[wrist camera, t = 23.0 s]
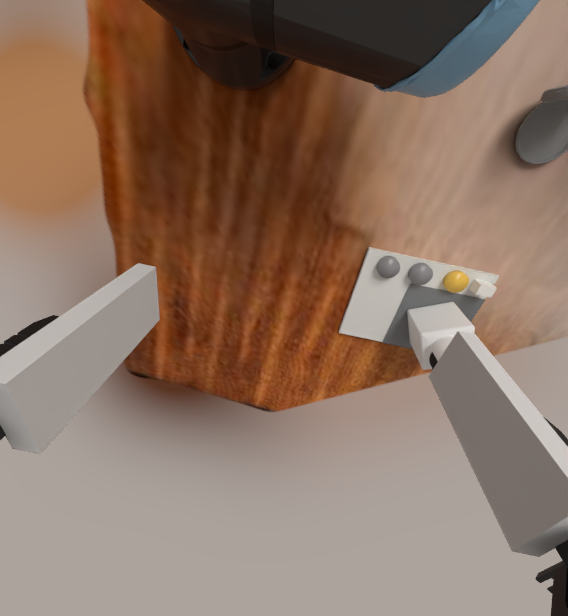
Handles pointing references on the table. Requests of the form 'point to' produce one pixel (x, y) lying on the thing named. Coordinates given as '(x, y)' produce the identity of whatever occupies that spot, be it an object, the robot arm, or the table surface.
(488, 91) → the table surface
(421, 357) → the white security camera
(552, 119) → the pocket watch
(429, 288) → the board
